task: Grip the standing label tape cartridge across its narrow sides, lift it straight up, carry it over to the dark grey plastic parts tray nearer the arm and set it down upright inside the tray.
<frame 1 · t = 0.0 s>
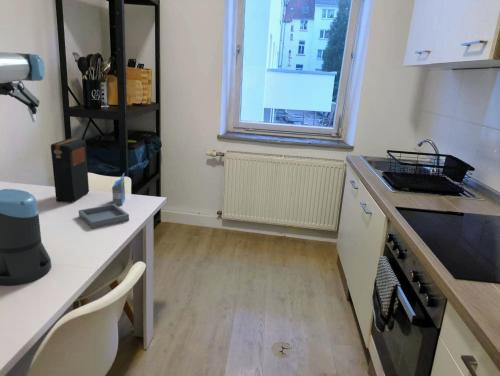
hand: (14, 118, 137), 36 cm above the table, tool tilted 35°, fingers open, 13 cm apart
voltmeter: (73, 197, 165), on the table
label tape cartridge: (119, 202, 163), on the table
parts tray: (103, 218, 145), on the table
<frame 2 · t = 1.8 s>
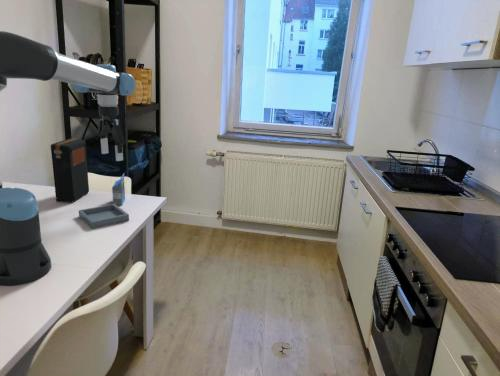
hand: (112, 156, 157), 20 cm above the table, tool pointing down, fingers open, 13 cm apart
nothing on the table moved.
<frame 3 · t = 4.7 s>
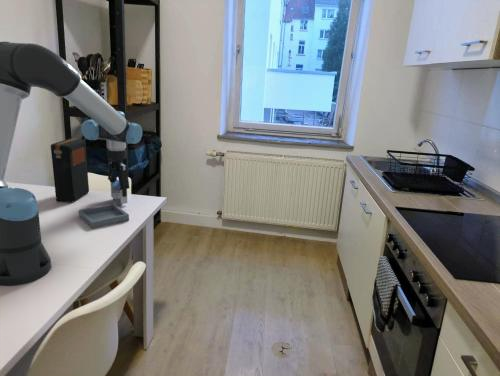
hand: (119, 199, 163), 1 cm above the table, tool pointing down, fingers closed on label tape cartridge, 9 cm apart
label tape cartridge: (119, 202, 163), on the table, touching gripper
everything else where it was.
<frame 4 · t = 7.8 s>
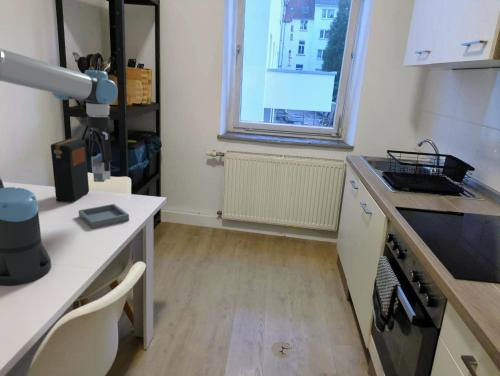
hand: (101, 176, 141), 17 cm above the table, tool pointing down, fingers closed on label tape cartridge, 9 cm apart
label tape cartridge: (101, 179, 141), point 16 cm above the table, touching gripper
everything else where it was.
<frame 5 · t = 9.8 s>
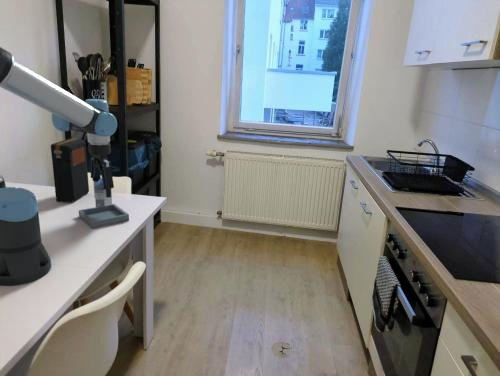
hand: (103, 200, 143), 7 cm above the table, tool pointing down, fingers closed on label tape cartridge, 9 cm apart
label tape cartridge: (103, 203, 144), point 6 cm above the table, touching gripper
everything else where it was.
when the fingers open (4 cm above the table, at t = 11.4 s): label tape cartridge drops 2 cm, resting on parts tray.
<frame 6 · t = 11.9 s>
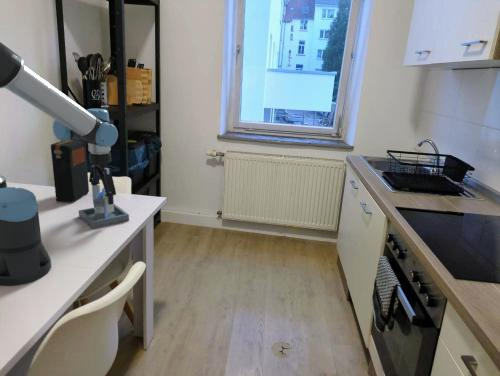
hand: (103, 206, 144), 5 cm above the table, tool pointing down, fingers open, 13 cm apart
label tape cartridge: (103, 217, 145), point 1 cm above the table, touching parts tray
everything else where it was.
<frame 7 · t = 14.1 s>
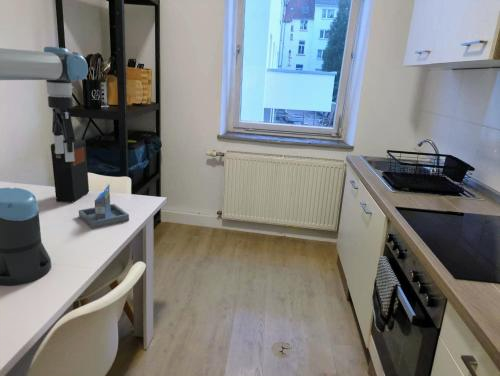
hand: (64, 157, 133), 25 cm above the table, tool pointing down, fingers open, 13 cm apart
nothing on the table moved.
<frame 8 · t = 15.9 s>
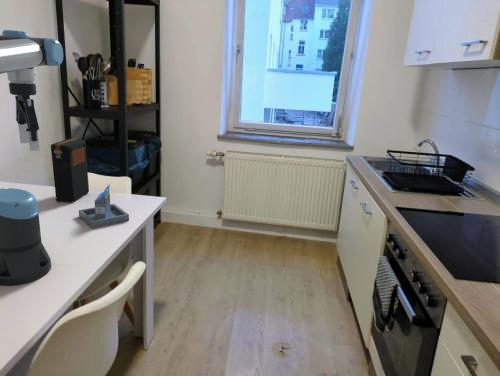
hand: (29, 146, 128), 29 cm above the table, tool pointing down, fingers open, 13 cm apart
nothing on the table moved.
at the end: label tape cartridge inside the target area on the parts tray (0.1 cm from its centre), point 0.4 cm above the parts tray's base; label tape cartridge tilted 0°; the gripper is holding nothing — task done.
